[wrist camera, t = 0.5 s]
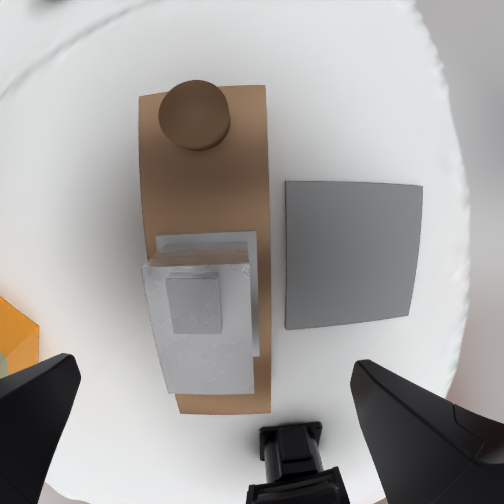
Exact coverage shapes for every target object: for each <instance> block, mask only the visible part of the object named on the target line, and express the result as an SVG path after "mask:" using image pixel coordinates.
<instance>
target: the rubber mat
mask: <svg viewBox="0 0 504 504" xmlns="http://www.w3.org/2000/svg"><path fill="white" fill-rule="evenodd" d="M285 190H286V317H285V328H286V330H293V329H305V328H316V327H327V326H336V325H345V324H353V323H361V322H369V321H376V320H383V319H390V318H396V317H402V316H408V314H409V309H410V304H411V299H412V293H413V288H414V281H415V275H416V268H417V260H418V252H419V243H420V232H421V219H422V200H423V186H413V185H399V184H383V183H362V182H327V181H285Z"/></svg>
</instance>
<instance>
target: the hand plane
mask: <svg viewBox="0 0 504 504" xmlns="http://www.w3.org/2000/svg"><path fill="white" fill-rule="evenodd" d="M139 168H140V187H141V201H142V213H143V224H144V234H145V242H146V251H147V258H148V260H149V259H150V258H151V257H152V256H153V255H154V254H155V253H156V252H158V251H159V250H160V249H161V248H162V247H163V246H164V245H165V244H184V243H206V242H229V241H247V244H248V254H249V267H250V294H251V321H252V346H253V372H254V394H226V395H205V394H175V397H176V400H177V404H178V407H179V411H180V414H205V415H236V414H261V413H271V265H270V210H269V172H268V141H267V115H266V91H265V85H246V86H222V87H216V86H215V85H213V84H211V83H209V82H206V81H202V80H192V81H187V82H183V83H181V84H179V85H177V86H175V87H174V88H173V89H171V90H170V91H169V92H164V93H158V94H152V95H146V96H140V97H139Z"/></svg>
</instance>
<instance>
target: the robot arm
mask: <svg viewBox="0 0 504 504" xmlns="http://www.w3.org/2000/svg"><path fill="white" fill-rule="evenodd" d="M80 381H81V374H80V371H79V368H78V366H77V363H76V360H75V358H74V356H73V355H71V354H66V353H61V354H59V355H56V356H54V357H52V358H49V359H47V360H45V361H42V362H40V363H37V364H35V365H32V366H30V367H28V368H25V369H23V370H20V371H18V372H15V373H13V374H11V375H8V376H6V377H3V378H1V379H0V504H37V503H38V500H39V497H40V493H41V490H42V487H43V484H44V481H45V478H46V475H47V472H48V469H49V466H50V463H51V461H52V458H53V455H54V453H55V450H56V447H57V445H58V442H59V440H60V437H61V435H62V432H63V430H64V427H65V425H66V422H67V420H68V418H69V415H70V412H71V409H72V406H73V403H74V399H75V396H76V393H77V390H78V387H79V384H80ZM350 387H351V392H352V395H353V399H354V403H355V407H356V411H357V415H358V419H359V423H360V427H361V430H362V432H363V435H364V438H365V440H366V443H367V446H368V448H369V451H370V454H371V456H372V459H373V462H374V464H375V467H376V470H377V473H378V475H379V478H380V481H381V484H382V487H383V489H384V492H385V495H386V498H387V501H388V504H504V424H503V423H500V422H497V421H494V420H491V419H488V418H486V417H483V416H480V415H478V414H475V413H473V412H470V411H469V410H466V409H464V408H462V407H460V406H458V405H456V404H452V402H450V401H448V400H446V399H444V398H442V397H440V396H438V395H436V394H434V393H432V392H430V391H428V390H426V389H424V388H422V387H420V386H418V385H416V384H414V383H412V382H410V381H408V380H406V379H404V378H403V377H401V376H399V375H397V374H395V373H393V372H391V371H389V370H387V369H386V368H384V367H382V366H380V365H378V364H376V363H374V362H373V361H371V360H368V359H366V360H359V361H357V362H355V364H354V368H353V373H352V377H351V381H350ZM321 430H322V424H321V423H319V422H317V423H310V424H302V425H294V426H284V427H272V428H262V429H260V431H259V433H260V460H261V461H265V467H266V478H267V483H266V484H259V485H255V484H253V485H249V490H248V491H247V499H246V504H350V501H349V498H348V495H347V491H346V489H345V486H344V483H343V480H342V477H341V474H340V471H339V468H338V466H336V467H333V468H332V469H329V470H325V471H324V469H323V466H322V462H321V458H320V454H319V450H318V443H319V439H320V435H321Z"/></svg>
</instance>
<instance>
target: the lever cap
mask: <svg viewBox="0 0 504 504" xmlns="http://www.w3.org/2000/svg"><path fill="white" fill-rule="evenodd" d="M141 270H142V276H143V282H144V288H145V294H146V300H147V305H148V310H149V315H150V320H151V325H152V330H153V334H154V339H155V343H156V348H157V352H158V356H159V360H160V364H161V368H162V372H163V375H164V379H165V383H166V386H167V390H168V393H175V394H205V395H226V394H254V372H253V346H252V321H251V294H250V267H249V254H248V244H247V241H229V242H206V243H184V244H165V245H164V246H163V247H162V248H161V249H160V250H159V251H158V252H156V253H155V254H154V255H153V256H152V257H151V258H150V259H149V260H148V261H147V262H146V263H145V264H144V265H143V266H142V267H141Z"/></svg>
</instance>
